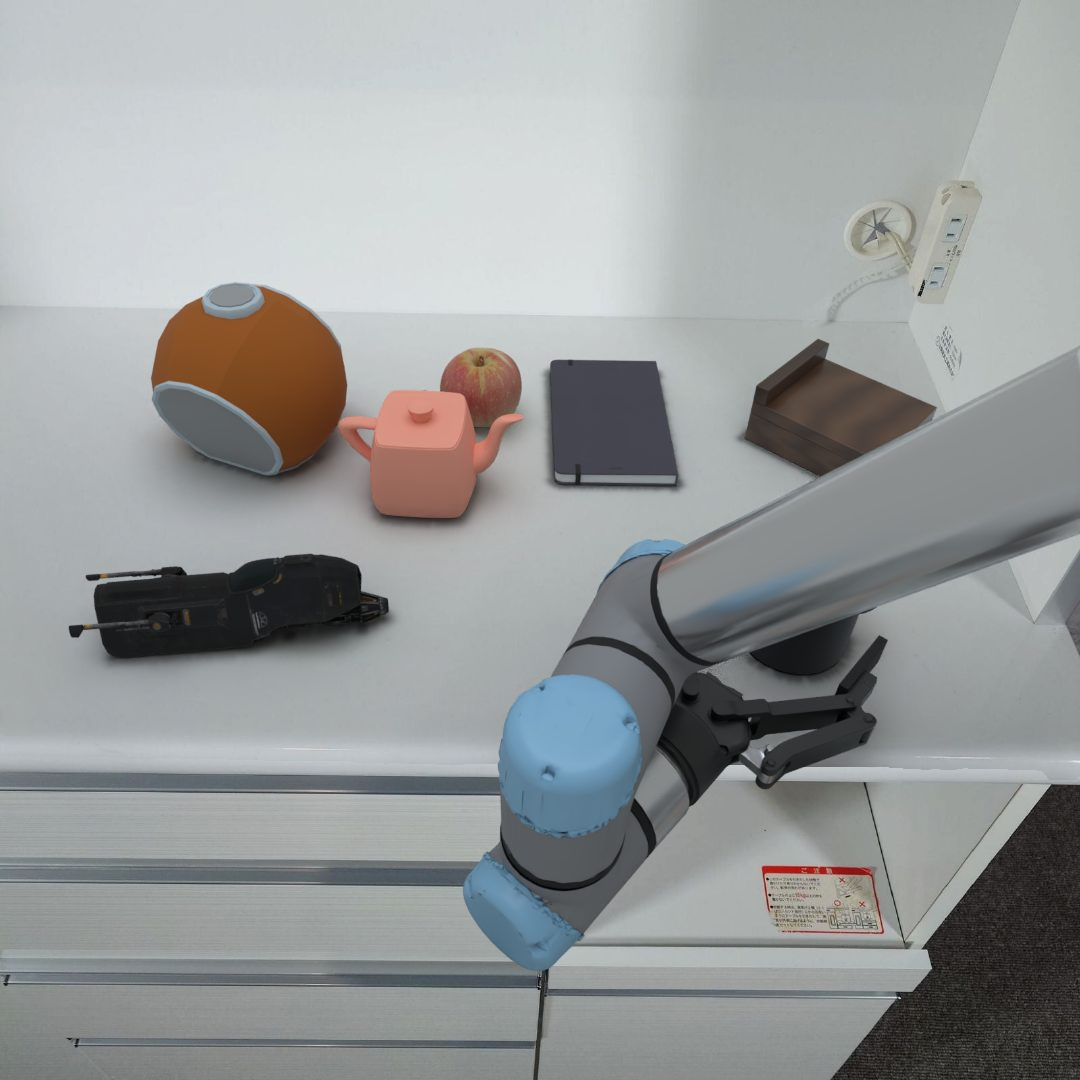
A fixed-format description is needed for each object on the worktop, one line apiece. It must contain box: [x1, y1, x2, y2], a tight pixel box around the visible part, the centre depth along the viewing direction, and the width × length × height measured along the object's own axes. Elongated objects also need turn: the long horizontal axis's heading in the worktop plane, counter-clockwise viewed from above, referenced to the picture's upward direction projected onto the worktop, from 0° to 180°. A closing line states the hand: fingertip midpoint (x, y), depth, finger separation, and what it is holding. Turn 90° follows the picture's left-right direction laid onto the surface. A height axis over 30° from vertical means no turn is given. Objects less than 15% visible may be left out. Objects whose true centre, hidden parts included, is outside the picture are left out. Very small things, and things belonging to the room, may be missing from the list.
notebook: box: [549, 359, 679, 487], centre depth 103 cm, size 13×2×21 cm
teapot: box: [337, 389, 524, 519], centre depth 91 cm, size 12×18×10 cm, turn 88°
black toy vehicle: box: [68, 553, 390, 659], centre depth 78 cm, size 7×25×8 cm, turn 96°
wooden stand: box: [744, 338, 938, 477], centre depth 100 cm, size 15×13×7 cm
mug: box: [750, 607, 878, 675], centre depth 78 cm, size 9×12×9 cm
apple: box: [439, 347, 523, 428], centre depth 101 cm, size 9×9×8 cm
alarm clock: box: [150, 281, 348, 476], centre depth 94 cm, size 19×18×17 cm
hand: (803, 604), depth 76 cm, fingers open, 13 cm apart
